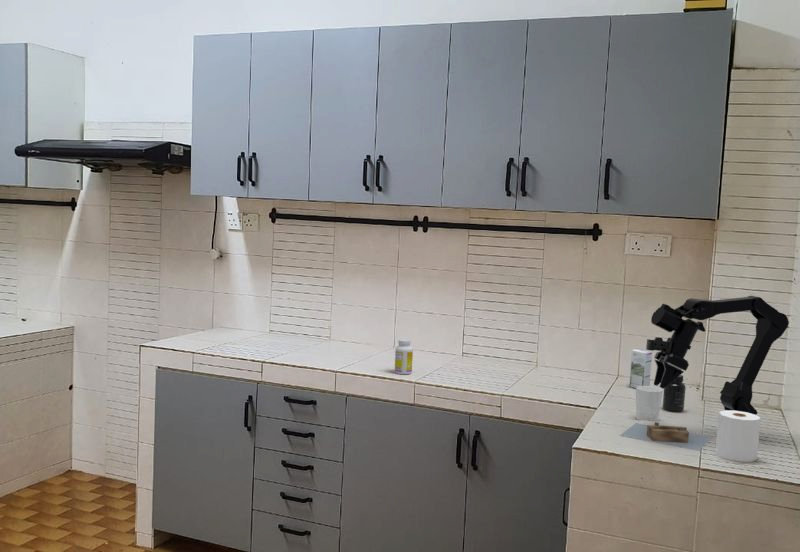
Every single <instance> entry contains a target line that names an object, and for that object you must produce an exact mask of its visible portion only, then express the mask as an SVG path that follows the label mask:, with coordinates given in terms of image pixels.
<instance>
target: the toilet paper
mask: <svg viewBox="0 0 800 552" xmlns="http://www.w3.org/2000/svg"><path fill="white" fill-rule="evenodd" d="M717 419H718V420H717V427H716V441H715V453H716V455H717V456H718V457H721V458H723V459H726V460H730V461H735V462H741V463H742V462H743V463H747V462H754V461H756V460H758V452H759V442H760V441H759V440H760V431H761V430H760V429H761V417H760V416H758V414H757V415H754V414H751V413H748V412H741V411H735V410H725V409H724V410H721V411H718V416H717Z"/></svg>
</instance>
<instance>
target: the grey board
mask: <svg viewBox="0 0 800 552" xmlns="http://www.w3.org/2000/svg"><path fill="white" fill-rule="evenodd" d="M647 425H648V424H645V423H639V422H635V423H633V424H632V425H631V426H630V427H628V428H627V429H626V430H624V432H622V433H621V434H620V435H619V436H620V437H624V438H629V439H634V440H640V441H644V442H649V443H650V442H651V443H655V444H660V445H666V446H672V447H676V448H677V447H678V448H682V449H683V448H684V449H686V450H687V449H688V450H691V451H692V450H694V451H699V452H700V451H701V450H702V449H703V447H704V446H705V445H706V444H707V442H708V441H709V440H710V439H711V438H712V436H711V435H707V434H701V433H696V432H695V433H694V432H690V431H688V428H687V427H685V426H682V427H683V428H684V429H685V430H686V431H688V432H689V438H688V443H681V442H661V441H652V440H651V439H650V438H649V437H648V436H647ZM654 425H658V426H660V423H659V422H658V421H654Z"/></svg>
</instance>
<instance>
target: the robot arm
mask: <svg viewBox="0 0 800 552" xmlns="http://www.w3.org/2000/svg"><path fill="white" fill-rule="evenodd" d="M747 311H749V312H750V313H751V315H752V316H753V317H754V318H755V319H756V323H755V324H756V325H755V337H754V340H753V342H752V344H751V346H750V348H749V350H748V352H747V355H746V357H745V358H744V361H743V363H742V365H741V367H740V369H739V370H738V373H737V375H736V377H735V378H734V379H733V380H732V381H725V383H724V384H723V388H722V389H721V391H720V392H719V393H720V397H719V400H720V401H721V402H720V403H721V405H722V406H723V408H724V410H735V411H741V412H748V413H751V414H754V415H757V416H758V411H757V409H756V408H755V407H754V406H753V405H752V404H751V403H752V399H753V385H754V383H755V381H756V379H757V377H758V374H759V372H760V370H761V368H762V366H763V364H764V362H765V360H766V357H767V355H768V353H769V351H770V350H771V347H772V345H773V344H774V342H776V341H777V340H778V339H779V338H781V337H782V336H783V335H784V333H785V331H786V330H787V329H788V327H789V325H790V321H789V318H788V316H787V315H786V314H785V313H783V312H780V311H779V310H778V309H776V308H775V307H773V306H772V305H770V304H768V303H767V302H766V301H765V300H764V299H763V298H762V297H761V296H755V295H748V296H744V297H743V296H742V297H736V298H725V299H723V298H722V299H717V300H715V299H714V300H712V299H703V298H693V297H692V298H687V299H686V301H684V304H681V305H680V306H678V307H677V308H673V307H671V306H670V305H668V304H666V303H662V304H661V305H660V306H659V307H658V308H657V309H655V311H654V312H653V313H652V315H651V319H650V320H651V324H652V325H654V326H656V327H658V328H660V329H662V330H664V331H666V332H668V333H672V332H673V333H672V334H671V337H668V338H667V340H663V337H657V336H656V337H655V338H653V339H649V338H647V339H646V347H645V350H649V351H652V352H653V351H656V353H655V355H654V360H653V361H654V362H655V365H656V371H655V376H654V381H653V385H654V386H655V387H658V386H659V387H660V389H662V390H664V388H665V387H666V386H667V385H668V384H669V383H671V382H672V381H673V380H674V379H676V378H677V377H678V376H679V375H682V374H684V372H686V371H687V370H688V367H689V361H688V359H687V360H686V359H685V357H686V355H687V353H688V351H689V350H691V348H692V346H691V344H692V342H693V341H694V338H695V336H696V334H697V332H698V331H700V332H706V328H705V326H704V322H702V321H705V320H708V319H712V318H714V317H715V316H717V315H720V314H728V313H729V314H730V313H739V312H747ZM683 318H686V319H683ZM694 320H698V321H694Z"/></svg>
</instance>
